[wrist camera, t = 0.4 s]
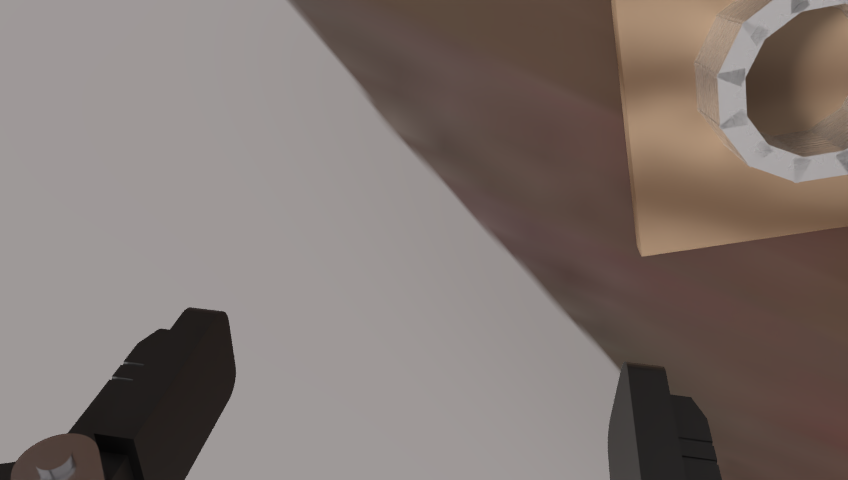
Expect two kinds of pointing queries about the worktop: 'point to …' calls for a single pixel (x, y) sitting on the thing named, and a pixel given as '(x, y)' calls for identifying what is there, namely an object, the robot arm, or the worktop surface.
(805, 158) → the notched white ring
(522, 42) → the worktop surface
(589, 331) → the worktop surface
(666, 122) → the mount board
